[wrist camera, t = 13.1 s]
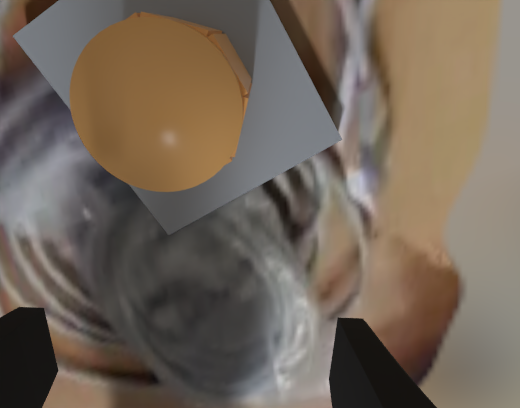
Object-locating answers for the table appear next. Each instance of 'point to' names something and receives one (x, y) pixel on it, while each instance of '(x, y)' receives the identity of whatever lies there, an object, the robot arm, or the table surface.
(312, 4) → the table surface
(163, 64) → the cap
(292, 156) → the stud block
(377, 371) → the robot arm
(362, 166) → the table surface
